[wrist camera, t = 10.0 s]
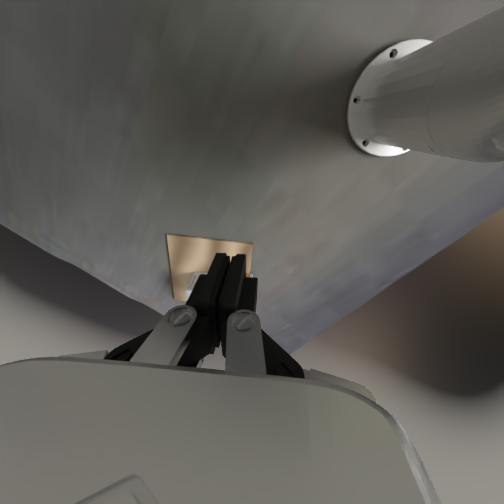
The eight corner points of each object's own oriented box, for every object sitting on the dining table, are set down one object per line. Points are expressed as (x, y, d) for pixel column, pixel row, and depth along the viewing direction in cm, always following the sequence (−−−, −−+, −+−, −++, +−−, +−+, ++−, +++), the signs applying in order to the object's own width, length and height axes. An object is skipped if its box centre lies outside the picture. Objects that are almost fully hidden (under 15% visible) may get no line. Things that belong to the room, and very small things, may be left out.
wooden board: (252, 243, 42) (252, 244, 41) (246, 306, 50) (246, 308, 49) (167, 233, 42) (166, 234, 41) (175, 298, 50) (174, 299, 50)
